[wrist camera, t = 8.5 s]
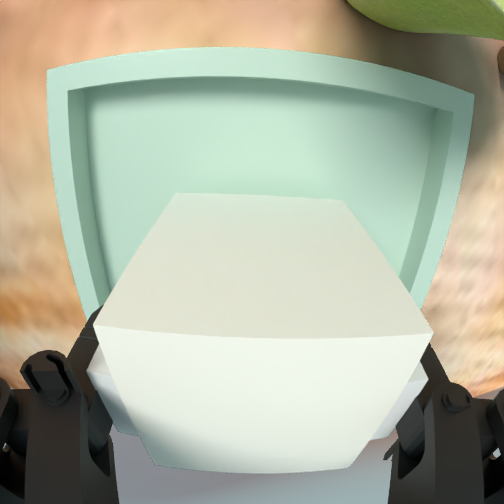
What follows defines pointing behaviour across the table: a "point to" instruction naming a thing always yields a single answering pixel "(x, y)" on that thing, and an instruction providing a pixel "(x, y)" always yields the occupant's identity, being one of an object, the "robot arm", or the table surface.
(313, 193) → the tray
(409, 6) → the plant pot
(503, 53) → the scoop
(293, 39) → the table surface
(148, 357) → the block
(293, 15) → the table surface
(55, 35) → the table surface
